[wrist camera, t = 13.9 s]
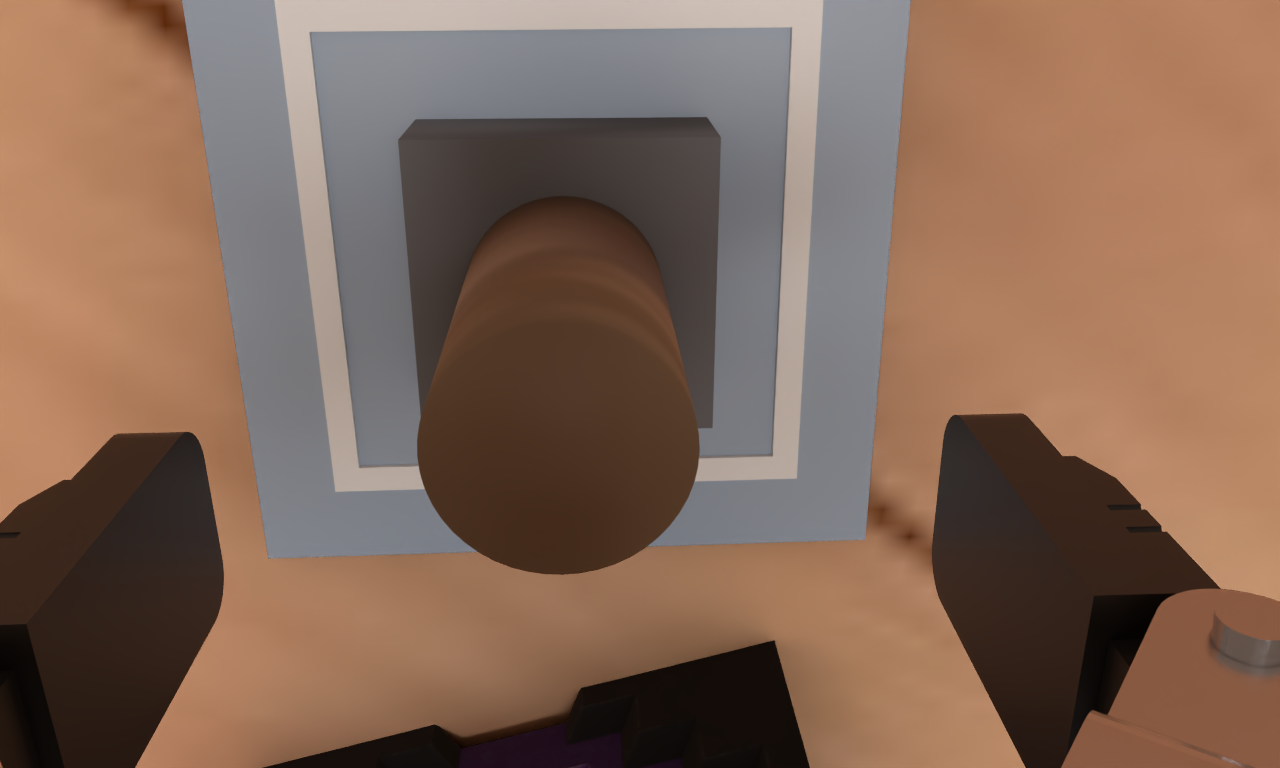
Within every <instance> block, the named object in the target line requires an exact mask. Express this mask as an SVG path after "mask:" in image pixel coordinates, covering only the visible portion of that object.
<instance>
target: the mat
mask: <svg viewBox="0 0 1280 768" xmlns="http://www.w3.org/2000/svg"><path fill="white" fill-rule="evenodd" d="M182 2H183V9H184V15H185V22H186V28H187V35H188V41H189V48H190V54H191V61H192V67H193V74H194V80H195V87H196V93H197V100H198V106H199V112H200V119H201V125H202V132H203V138H204V145H205V151H206V158H207V164H208V171H209V177H210V184H211V190H212V197H213V203H214V210H215V216H216V223H217V229H218V236H219V242H220V248H221V255H222V261H223V268H224V274H225V281H226V287H227V294H228V300H229V307H230V313H231V320H232V326H233V333H234V339H235V346H236V352H237V359H238V365H239V372H240V378H241V385H242V391H243V397H244V404H245V410H246V417H247V423H248V430H249V436H250V443H251V449H252V456H253V462H254V469H255V475H256V482H257V488H258V495H259V501H260V508H261V514H262V521H263V527H264V533H265V540H266V546H267V553H268V559H271V558H302V557H334V556H366V555H398V554H429V553H461V552H477V551H476V550H475V549H473V548H472V547H470V546H469V545H467V544H466V543H465V542H463V541H462V540H461V539H460V538H459V537H458V536H457V535H456V534H455V533H453V532H452V531H451V529H450V528H449V527H448V526H447V525H446V524H445V522H444V521H443V520H442V519H441V518H440V516H439V514H438V513H437V511H436V510H435V508H434V507H433V505H432V503H431V501H430V499H429V497H428V495H427V493H426V491H425V488H424V485H423V482H422V479H421V475H420V471H419V465H418V459H417V436H418V429H419V422H420V419H421V414H420V402H419V390H418V378H417V366H416V354H415V341H414V329H413V317H412V305H411V293H410V280H409V268H408V256H407V244H406V232H405V220H404V207H403V195H402V183H401V171H400V159H399V146H398V139H399V138H400V137H401V136H402V135H403V133H404V132H405V131H406V130H407V129H408V128H409V126H410V125H411V124H412V123H413V122H414V120H415V119H518V118H653V117H707V118H708V119H709V121H710V122H711V124H712V125H713V126H714V128H715V129H716V131H717V132H718V134H719V135H720V137H721V154H720V189H719V224H718V259H717V293H716V328H715V363H714V398H713V428H698V432H699V446H700V453H699V463H698V469H697V474H696V478H695V482H694V485H693V487H692V490H691V492H690V495H689V497H688V499H687V501H686V503H685V505H684V506H683V508H682V510H681V512H680V513H679V514H678V516H677V517H676V518H675V520H674V521H673V522H672V524H671V525H670V526H669V527H668V528H667V529H666V530H665V531H664V532H663V533H662V534H661V535H660V536H659V537H658V538H657V539H656V540H655V541H653V542H652V543H651V544H650V545H648V546H647V547H652V546H683V545H715V544H747V543H779V542H810V541H842V540H865V536H866V524H867V512H868V500H869V489H870V477H871V465H872V453H873V441H874V429H875V417H876V406H877V394H878V382H879V370H880V358H881V346H882V334H883V323H884V311H885V299H886V287H887V275H888V263H889V251H890V240H891V228H892V216H893V204H894V192H895V180H896V168H897V157H898V145H899V133H900V121H901V109H902V97H903V85H904V74H905V62H906V50H907V38H908V26H909V14H910V2H911V0H182Z"/></svg>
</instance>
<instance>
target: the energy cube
mask: <svg viewBox="0 0 1280 768" xmlns="http://www.w3.org/2000/svg"><path fill="white" fill-rule="evenodd" d="M264 768H810V767H809V763H808V760H807V756H806V752H805V749H804V745H803V741H802V738H801V734H800V731H799V727H798V724H797V720H796V716H795V713H794V709H793V706H792V702H791V698H790V695H789V691H788V688H787V684H786V681H785V677H784V673H783V670H782V666H781V663H780V659H779V655H778V652H777V648H776V645H775V641H770V642H766V643H762V644H758V645H754V646H750V647H746V648H742V649H738V650H734V651H730V652H726V653H722V654H718V655H714V656H710V657H706V658H702V659H698V660H694V661H690V662H686V663H682V664H678V665H674V666H670V667H666V668H661V669H657V670H653V671H649V672H645V673H641V674H637V675H633V676H629V677H625V678H621V679H617V680H613V681H609V682H605V683H601V684H596V685H592V686H588V687H584V688H581V690H580V691H579V694H578V696H577V699H576V701H575V704H574V706H573V708H572V711H571V713H570V716H569V718H568V721H567V723H563V724H559V725H555V726H551V727H547V728H543V729H539V730H535V731H531V732H527V733H524V734H520V735H516V736H512V737H507V738H503V739H499V740H495V741H491V742H487V743H483V744H479V745H474V746H470V747H466V748H462V749H461V748H460V747H459V746H458V745H457V744H456V743H455V742H454V741H453V740H452V739H451V738H450V737H449V736H448V735H447V734H446V733H445V732H444V731H443V730H442V729H441V728H440V727H439V726H437V725H431V726H427V727H423V728H420V729H416V730H412V731H408V732H404V733H400V734H396V735H392V736H388V737H384V738H380V739H376V740H372V741H368V742H364V743H360V744H356V745H352V746H348V747H344V748H340V749H336V750H332V751H328V752H324V753H320V754H316V755H312V756H308V757H304V758H300V759H296V760H292V761H288V762H284V763H280V764H276V765H272V766H268V767H264Z"/></svg>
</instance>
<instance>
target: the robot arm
mask: <svg viewBox="0 0 1280 768" xmlns="http://www.w3.org/2000/svg"><path fill="white" fill-rule="evenodd" d="M932 563H933V573H934V580H935V585H936V589H937V593H938V596H939V599H940V601H941V603H942V605H943V607H944V609H945V611H946V613H947V615H948V617H949V619H950V621H951V623H952V625H953V627H954V629H955V631H956V632H957V634H958V636H959V638H960V640H961V642H962V644H963V646H964V648H965V650H966V652H967V654H968V656H969V658H970V660H971V662H972V664H973V666H974V668H975V670H976V671H977V673H978V675H979V677H980V679H981V681H982V683H983V685H984V687H985V689H986V691H987V693H988V695H989V697H990V699H991V701H992V703H993V705H994V707H995V709H996V710H997V712H998V714H999V716H1000V718H1001V720H1002V722H1003V724H1004V726H1005V728H1006V730H1007V732H1008V734H1009V736H1010V738H1011V740H1012V742H1013V744H1014V746H1015V748H1016V749H1017V751H1018V753H1019V755H1020V757H1021V759H1022V761H1023V763H1024V765H1025V767H1026V768H1280V601H1276V600H1273V599H1270V598H1267V597H1264V596H1260V595H1256V594H1252V593H1247V592H1241V591H1235V590H1226V589H1221V588H1220V587H1219V586H1218V585H1217V584H1216V583H1215V582H1214V581H1213V580H1212V579H1211V578H1210V577H1209V576H1208V575H1207V574H1206V573H1205V572H1204V571H1203V569H1202V568H1201V567H1200V566H1199V565H1198V564H1197V563H1196V562H1195V561H1194V560H1193V559H1192V558H1191V557H1190V556H1189V555H1188V554H1187V553H1186V552H1185V550H1184V549H1183V548H1182V547H1181V546H1180V545H1179V544H1178V543H1177V542H1176V541H1175V540H1174V539H1173V538H1172V537H1171V536H1170V535H1169V534H1168V533H1167V532H1162V530H1161V525H1160V524H1159V523H1158V522H1157V521H1156V520H1155V519H1154V518H1153V517H1152V516H1151V515H1150V514H1149V512H1148V511H1147V510H1141V504H1140V503H1139V502H1138V501H1137V500H1136V499H1135V498H1134V497H1133V496H1132V495H1131V493H1130V492H1129V491H1128V490H1127V489H1126V488H1125V487H1124V486H1123V485H1122V484H1121V483H1120V482H1119V481H1118V480H1117V479H1116V478H1115V477H1113V476H1111V475H1109V474H1107V473H1106V472H1104V471H1102V470H1100V469H1098V468H1096V467H1094V466H1093V465H1091V464H1089V463H1087V462H1085V461H1083V460H1082V459H1080V458H1078V457H1076V456H1062V455H1061V454H1060V453H1059V452H1058V450H1057V449H1056V448H1055V447H1054V446H1053V445H1052V444H1051V443H1050V441H1049V440H1048V439H1047V438H1046V437H1045V436H1044V435H1043V434H1042V432H1041V431H1040V430H1039V429H1038V428H1037V427H1036V426H1035V424H1034V423H1033V422H1032V421H1031V420H1030V419H1029V418H1028V417H1027V416H1026V415H1024V414H981V415H954V416H952V417H951V418H950V419H949V421H948V423H947V426H946V429H945V433H944V439H943V448H942V457H941V467H940V476H939V486H938V495H937V505H936V514H935V524H934V533H933V544H932ZM223 584H224V571H223V561H222V555H221V549H220V543H219V538H218V532H217V527H216V521H215V515H214V510H213V504H212V499H211V493H210V487H209V482H208V476H207V471H206V465H205V460H204V455H203V451H202V448H201V445H200V443H199V441H198V439H197V438H196V436H195V435H194V434H192V433H190V432H171V433H130V434H116V435H114V436H113V437H112V438H110V440H109V441H108V442H107V443H106V444H105V445H104V446H103V447H102V448H101V449H100V450H99V451H98V452H97V453H96V454H95V455H94V456H93V457H92V458H91V459H90V461H89V462H88V463H87V464H86V465H85V466H84V467H83V468H82V469H81V470H80V471H79V472H78V473H77V474H76V475H75V476H74V477H73V478H72V479H71V480H63V481H61V482H59V483H57V484H56V485H54V486H52V487H50V488H48V489H47V490H45V491H43V492H41V493H39V494H38V495H36V496H34V497H32V498H30V499H29V500H27V501H25V502H23V503H21V504H20V505H18V506H17V507H16V508H15V509H14V510H13V511H12V512H11V513H10V514H9V515H8V516H7V517H6V518H5V519H4V520H3V521H2V522H1V523H0V768H135V767H136V765H137V763H138V761H139V759H140V758H141V756H142V754H143V752H144V750H145V749H146V747H147V745H148V743H149V741H150V739H151V738H152V736H153V734H154V732H155V730H156V729H157V727H158V725H159V723H160V721H161V719H162V718H163V716H164V714H165V712H166V710H167V708H168V707H169V705H170V703H171V701H172V699H173V698H174V696H175V694H176V692H177V690H178V688H179V687H180V685H181V683H182V681H183V679H184V678H185V676H186V674H187V672H188V670H189V668H190V667H191V665H192V663H193V661H194V659H195V658H196V656H197V654H198V652H199V650H200V648H201V647H202V645H203V643H204V641H205V639H206V637H207V636H208V634H209V632H210V630H211V628H212V627H213V625H214V623H215V621H216V619H217V616H218V613H219V610H220V606H221V601H222V595H223Z"/></svg>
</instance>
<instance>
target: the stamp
mask: <svg viewBox="0 0 1280 768" xmlns="http://www.w3.org/2000/svg"><path fill="white" fill-rule="evenodd" d="M398 146H399V159H400V171H401V183H402V195H403V207H404V220H405V232H406V244H407V256H408V268H409V280H410V293H411V305H412V317H413V329H414V341H415V354H416V366H417V378H418V390H419V402H420V414H421V419H420V422H419V429H418V436H417V459H418V465H419V471H420V475H421V479H422V482H423V485H424V488H425V491H426V493H427V495H428V497H429V499H430V501H431V503H432V505H433V507H434V508H435V510H436V511H437V513H438V514H439V516H440V518H441V519H442V520H443V521H444V522H445V524H446V525H447V526H448V527H449V528H450V529H451V531H452V532H453V533H455V534H456V535H457V536H458V537H459V538H460V539H461V540H462V541H463V542H465V543H466V544H467V545H469V546H470V547H472V548H473V549H475V550H476V551H477V552H479V553H481V554H483V555H484V556H486V557H488V558H490V559H492V560H494V561H496V562H499V563H501V564H504V565H507V566H509V567H512V568H516V569H520V570H524V571H528V572H534V573H541V574H561V575H564V574H575V573H583V572H588V571H593V570H598V569H601V568H604V567H608V566H611V565H614V564H616V563H618V562H621V561H623V560H625V559H627V558H629V557H631V556H633V555H634V554H636V553H638V552H639V551H641V550H643V549H644V548H646V547H647V546H648V545H650V544H651V543H652V542H653V541H655V540H656V539H657V538H658V537H659V536H660V535H661V534H662V533H663V532H664V531H665V530H666V529H667V528H668V527H669V526H670V525H671V524H672V522H673V521H674V520H675V518H676V517H677V516H678V514H679V513H680V512H681V510H682V508H683V506H684V505H685V503H686V501H687V499H688V497H689V495H690V492H691V490H692V487H693V485H694V482H695V478H696V474H697V469H698V463H699V453H700V446H699V432H698V428H713V398H714V363H715V328H716V293H717V259H718V224H719V189H720V154H721V137H720V135H719V134H718V132H717V131H716V129H715V128H714V126H713V125H712V124H711V122H710V121H709V119H708V118H707V117H653V118H518V119H415V120H414V122H413V123H412V124H411V125H410V126H409V128H408V129H407V130H406V131H405V132H404V133H403V135H402V136H401V137H400V138H399V139H398Z"/></svg>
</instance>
